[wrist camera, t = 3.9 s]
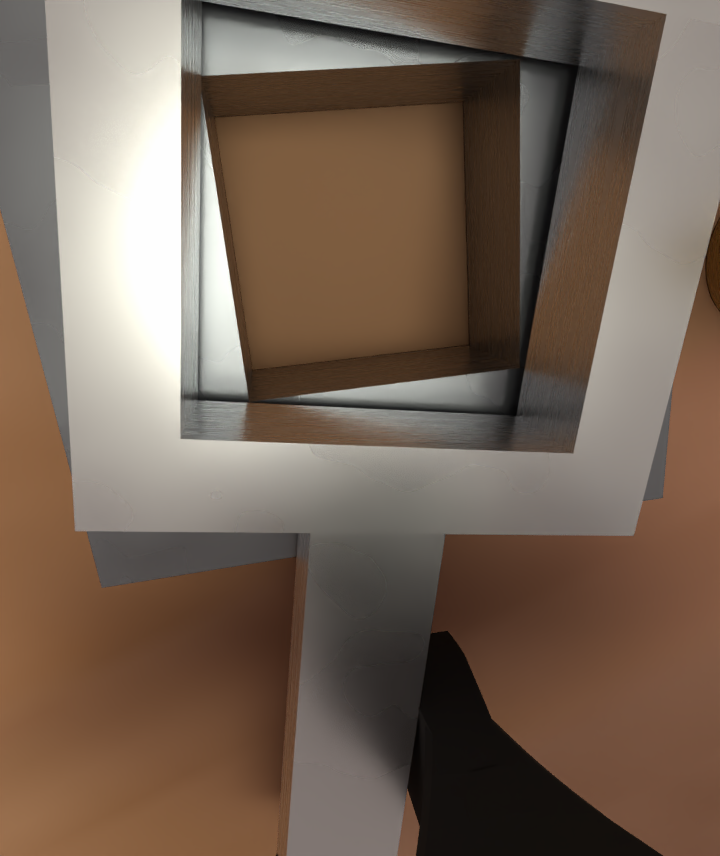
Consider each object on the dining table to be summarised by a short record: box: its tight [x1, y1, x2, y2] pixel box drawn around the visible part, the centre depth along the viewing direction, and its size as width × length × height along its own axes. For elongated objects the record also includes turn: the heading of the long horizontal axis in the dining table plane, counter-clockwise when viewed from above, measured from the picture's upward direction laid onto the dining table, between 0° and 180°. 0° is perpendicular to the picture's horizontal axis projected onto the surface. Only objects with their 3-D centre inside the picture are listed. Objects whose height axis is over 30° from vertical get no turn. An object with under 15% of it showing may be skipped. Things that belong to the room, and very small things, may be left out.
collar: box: [45, 0, 720, 856], centre depth 9 cm, size 17×7×2 cm, turn 174°
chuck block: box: [0, 0, 673, 588], centre depth 9 cm, size 10×10×2 cm
